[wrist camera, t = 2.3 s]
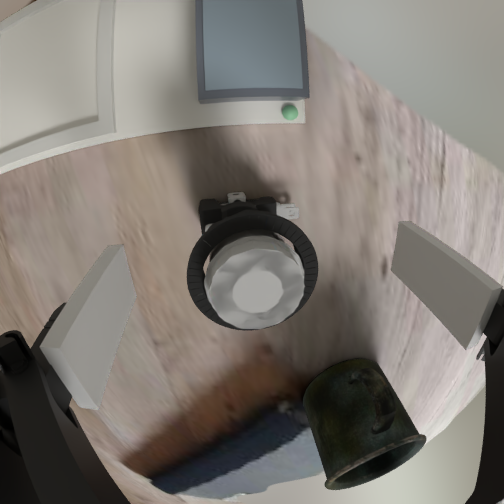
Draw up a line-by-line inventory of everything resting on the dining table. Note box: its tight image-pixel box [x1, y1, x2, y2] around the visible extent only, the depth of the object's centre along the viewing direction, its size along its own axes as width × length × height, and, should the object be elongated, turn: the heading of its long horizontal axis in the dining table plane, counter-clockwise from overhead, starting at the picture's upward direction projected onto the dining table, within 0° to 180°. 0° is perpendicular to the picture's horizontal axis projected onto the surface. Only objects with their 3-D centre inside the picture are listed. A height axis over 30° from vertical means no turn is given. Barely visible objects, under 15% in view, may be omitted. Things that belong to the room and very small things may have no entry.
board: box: [0, 0, 305, 174], centre depth 13 cm, size 24×14×1 cm, turn 93°
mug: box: [303, 359, 426, 490], centre depth 24 cm, size 11×15×12 cm
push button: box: [187, 192, 318, 330], centre depth 15 cm, size 7×5×10 cm
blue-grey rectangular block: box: [195, 0, 309, 104], centre depth 12 cm, size 6×11×3 cm, turn 3°
